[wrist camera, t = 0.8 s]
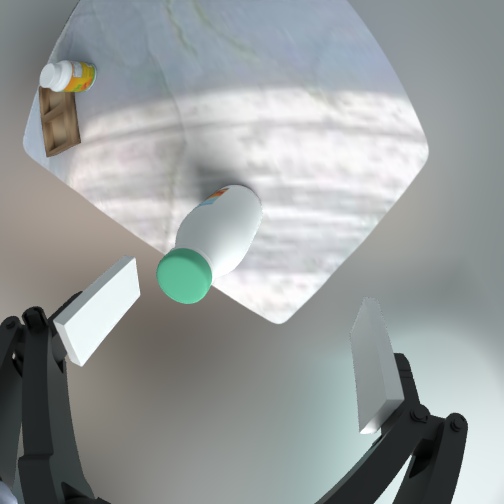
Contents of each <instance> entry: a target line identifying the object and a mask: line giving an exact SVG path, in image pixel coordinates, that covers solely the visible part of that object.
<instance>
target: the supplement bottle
mask: <svg viewBox="0 0 504 504" xmlns="http://www.w3.org/2000/svg"><path fill="white" fill-rule="evenodd" d="M96 76H97V71H96V68H95V66H94V65H93V64H90V63H84V62H76V61H68V60H62V61H60V62H58V63H57V64H56V63H49V64H47V65H46V66H45V67H44V68H43V70H42V72H41V75H40V85H41V86H42V87H43V88H50V89H51V90H52V91H55V92H85V91H87V90H89V89H90V88H91V87H92V85H93V84H94V82H95V80H96Z"/></svg>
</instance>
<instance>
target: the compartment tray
mask: <svg viewBox="0 0 504 504" xmlns="http://www.w3.org/2000/svg"><path fill="white" fill-rule="evenodd" d="M39 102H40V113H41V122H42V131H43V138H44V144H45V151H46V156H47V157H50V156H54V155H57V154H59V153H61V152H63V151H65V150H67V149H69V148H71V147H73V146H75V145H77V144H79V143H81V140H80V134H79V128H78V121H77V113H76V105H75V95H74V92H55V91H52V90H51V89H50V88H43V87H42V86H40V87H39Z"/></svg>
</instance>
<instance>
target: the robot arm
mask: <svg viewBox="0 0 504 504" xmlns="http://www.w3.org/2000/svg"><path fill="white" fill-rule="evenodd" d="M139 296H140V290H139V283H138V276H137V269H136V261H135V257H132V256H127V255H125V256H123V257H122V258H121V259H120V260H118V261H117V262H116V263H115V264H114V265H113V266H111V268H109V269H108V270H107V271H106V272H105V273H104V274H102V275H101V276H100V277H99V278H98V279H97V280H96V281H94V282H93V283H92V284H91V285H90V286H89V287H88V288H87V289H86V290H84V291H80V292H78V293H76V294H74V295H73V296H72V297H71V298H70V299H69V300H68V301H67V302H65V303H64V304H63V306H61V307H60V308H59V309H58V310H57V311H56V312H55V313H54V314H53V315H52V316H51V317H49V318H48V319H47V318H46V316H45V313H44V311H43V309H42V308H41V307H38V306H37V307H31V308H29V309H27V310H26V311H25V312H24V313H23V315H22V319H23V321H24V323H25V325H22V324H21V323H20V320H19V318H18V317H16V316H10V317H8V318H6V319H5V320H4V321H3V322H2V323H1V325H0V504H17V500H16V498H15V497H14V495H12V493H11V491H12V488H13V483H14V479H15V470H16V469H15V468H16V459H17V449H18V441H19V434H20V428H21V423H22V431H23V432H22V433H23V446H24V455H23V456H22V457H20V458H19V460H18V468H19V475H20V482H21V487H22V492H23V497H24V501H25V504H111V503H109V502H107V501H105V500H102V499H101V498H99V497H98V498H97V499H95V497H94V494H93V492H92V490H91V487H90V485H89V484H88V483H87V481H86V479H85V477H84V475H83V471H82V467H81V463H80V459H79V455H78V451H77V446H76V441H75V436H74V430H73V424H72V419H71V411H70V404H69V396H68V385H67V372H66V361H65V358H64V357H65V356H66V355H67V354H68V356H69V358H70V360H71V361H72V362H74V363H76V364H77V365H79V366H83V365H84V363H85V362H86V361H87V359H88V358H89V357H90V356H91V354H92V353H93V352H94V351H95V349H96V348H97V347H98V345H99V344H100V343H101V342H102V341H103V339H104V338H105V337H106V336H107V334H108V333H109V332H110V331H111V329H112V328H113V327H114V326H115V325H116V323H117V322H118V321H119V320H120V319H121V317H122V316H123V315H124V314H125V313H126V311H127V310H128V309H129V307H131V305H132V304H133V303H134V302H135V301H136V300H137V298H138V297H139ZM350 339H351V346H352V354H353V364H354V373H355V382H356V392H357V404H358V417H359V418H358V419H359V433H376V432H377V431H378V430H379V428H380V427H381V434H382V435H381V436H380V437H379V438H378V439H377V440H376V441H375V442H374V443H373V444H372V446H371V448H370V449H369V450H368V451H367V452H366V453H365V454H364V456H363V457H362V458H361V459H360V460H359V461H358V462H357V463H356V464H355V465H354V467H353V468H352V469H351V470H350V471H349V472H348V473H347V474H346V475H345V476H344V477H343V478H342V479H341V480H340V481H339V482H338V483H337V484H336V485H335V486H334V487H333V488H332V489H331V490H330V491H328V492H327V493H326V494H325V495H324V496H323V497H322V498H321V499H320V500H319V501H317V502H316V503H315V504H374V503H375V501H376V500H377V499H378V498H379V497H380V495H381V494H382V493H383V492H384V491H385V489H386V488H387V487H388V485H389V484H390V483H391V482H392V480H393V479H394V478H395V476H396V475H397V473H398V472H399V471H400V469H401V468H402V466H403V465H404V464H405V462H406V460H407V459H408V458H409V456H410V455H412V458H411V460H410V463H409V466H408V469H407V471H406V474H405V476H404V479H403V481H402V483H401V486H400V489H399V490H398V493H397V495H396V497H395V499H394V502H393V503H392V504H451V501H452V498H453V495H454V492H455V488H456V485H457V481H458V477H459V473H460V469H461V464H462V460H463V454H464V450H465V443H466V438H467V431H468V423H467V421H466V419H465V418H464V417H463V416H462V415H461V414H459V413H452V414H450V415H449V416H448V417H447V418H446V419H445V418H441V417H436V416H433V415H430V412H429V410H428V409H427V408H426V407H425V406H424V405H422V404H420V401H419V397H418V393H417V389H416V386H415V382H414V379H413V375H412V372H411V367H410V364H409V361H408V360H407V358H406V357H405V356H404V354H401V353H393V350H392V346H391V343H390V339H389V336H388V332H387V329H386V326H385V322H384V319H383V316H382V313H381V310H380V306H379V303H378V301H377V299H374V298H367V297H364V299H363V302H362V305H361V307H360V310H359V313H358V315H357V318H356V321H355V323H354V326H353V328H352V331H351V333H350ZM13 353H14V354H15V358H14V359H13V358H12V355H13Z"/></svg>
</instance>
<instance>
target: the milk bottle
mask: <svg viewBox="0 0 504 504" xmlns="http://www.w3.org/2000/svg"><path fill="white" fill-rule="evenodd" d="M262 214H263V211H262V205H261V202H260V200H259V198H258V197H257V196H256V194H255V193H254V192H252V191H251V190H250V189H248V188H246V187H244V186H240V185H229V186H226V187H223V188H221V189H220V190H218V191H217V192H215V193H214V194H213V195H211V196H210V197H209V198H207V199H206V200H205V201H203V202H202V203H201V204H199V205H198V206H197V207H196V208H195V209H193V210H192V211H191V212H190V213H189V214H188V215H187V216H186V217H185V219H184V220H183V222H182V223H181V225H180V227H179V229H178V232H177V236H176V243H175V247H174V248H173V249H171V250H170V252H169V253H168V254H166V255H165V256H164V257H163V259H162V260H161V261H160V263H159V265H158V268H157V280H158V283H159V285H160V287H161V289H162V290H163V291H164V292H165V293H166V294H167V295H168V296H169V297H170V298H172V299H173V300H175V301H178V302H181V303H188V304H189V303H195V302H197V301H199V300H200V299H202V298H203V297H204V296H205V295H206V293H207V292H208V290H209V288H210V286H211V285H212V283H213V281H214V278H216V277H220V276H223V275H225V274H227V273H228V272H230V271H231V270H233V269H234V268H235V267H236V266H237V265H238V264H239V263H240V262H241V260H242V259H243V257H244V256H245V254H246V252H247V250H248V248H249V246H250V244H251V242H252V240H253V238H254V236H255V234H256V232H257V230H258V227H259V225H260V223H261V220H262Z"/></svg>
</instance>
